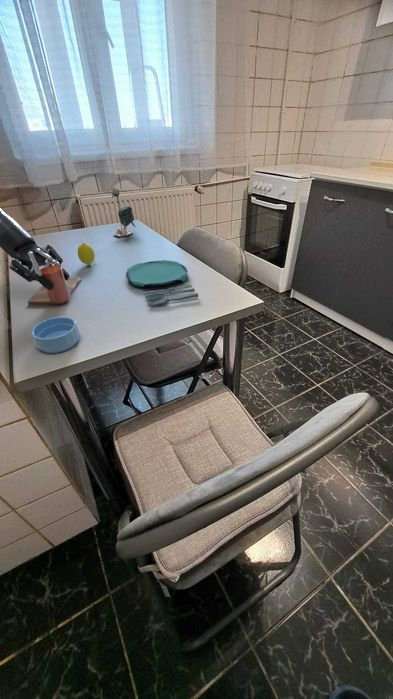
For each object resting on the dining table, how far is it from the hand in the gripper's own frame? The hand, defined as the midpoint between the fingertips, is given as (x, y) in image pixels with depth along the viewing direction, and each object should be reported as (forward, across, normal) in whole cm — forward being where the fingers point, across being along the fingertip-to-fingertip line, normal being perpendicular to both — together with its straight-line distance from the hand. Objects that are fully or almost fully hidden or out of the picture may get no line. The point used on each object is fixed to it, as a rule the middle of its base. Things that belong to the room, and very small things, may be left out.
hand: (60, 283), depth 80 cm
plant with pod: (-8, +64, +17) cm, 67 cm away
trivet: (-1, +5, +9) cm, 10 cm away
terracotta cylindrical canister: (+2, 0, +5) cm, 5 cm away
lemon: (-4, +26, +12) cm, 29 cm away
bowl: (+12, -17, -4) cm, 21 cm away
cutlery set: (+19, +19, -10) cm, 29 cm away
